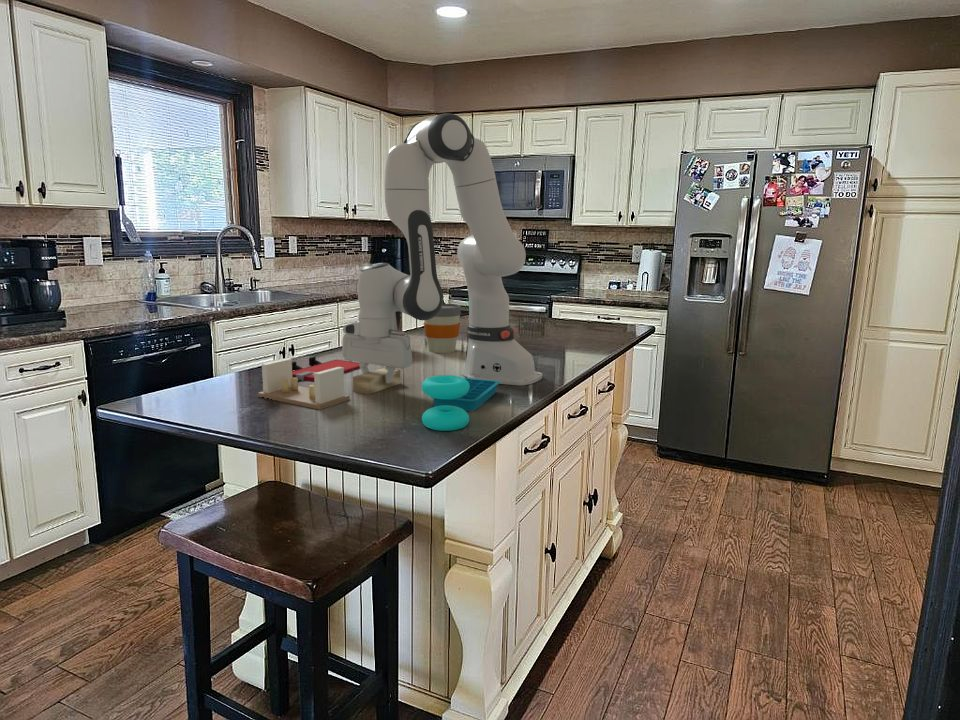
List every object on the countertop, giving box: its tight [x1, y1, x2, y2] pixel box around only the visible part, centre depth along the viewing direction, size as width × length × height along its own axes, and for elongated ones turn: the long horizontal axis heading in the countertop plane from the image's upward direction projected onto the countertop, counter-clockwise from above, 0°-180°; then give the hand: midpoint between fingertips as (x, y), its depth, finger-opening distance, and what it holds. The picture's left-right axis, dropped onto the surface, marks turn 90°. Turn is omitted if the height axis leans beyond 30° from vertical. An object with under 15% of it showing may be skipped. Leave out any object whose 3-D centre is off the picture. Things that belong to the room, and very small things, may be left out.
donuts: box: [421, 374, 470, 432], centre depth 134 cm, size 10×10×10 cm
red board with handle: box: [259, 356, 361, 382], centre depth 179 cm, size 30×3×15 cm
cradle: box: [257, 357, 350, 411], centre depth 153 cm, size 20×10×8 cm, turn 60°
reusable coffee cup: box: [423, 303, 462, 354], centre depth 212 cm, size 13×13×15 cm
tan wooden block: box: [352, 366, 401, 395], centre depth 165 cm, size 13×5×4 cm, turn 150°
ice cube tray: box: [430, 377, 501, 412], centre depth 155 cm, size 12×20×3 cm, turn 162°
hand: (377, 380), depth 165 cm, fingers open, 5 cm apart
